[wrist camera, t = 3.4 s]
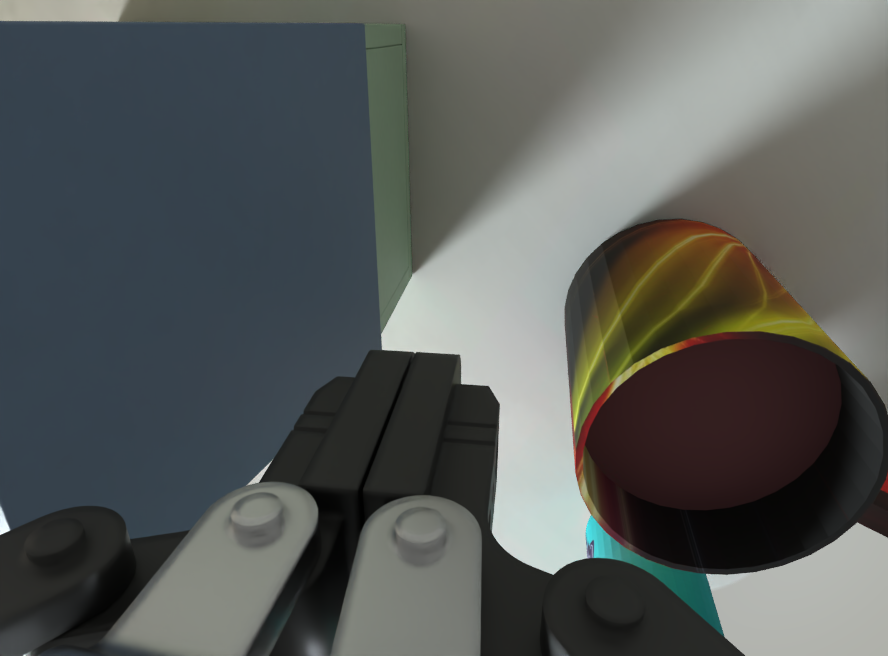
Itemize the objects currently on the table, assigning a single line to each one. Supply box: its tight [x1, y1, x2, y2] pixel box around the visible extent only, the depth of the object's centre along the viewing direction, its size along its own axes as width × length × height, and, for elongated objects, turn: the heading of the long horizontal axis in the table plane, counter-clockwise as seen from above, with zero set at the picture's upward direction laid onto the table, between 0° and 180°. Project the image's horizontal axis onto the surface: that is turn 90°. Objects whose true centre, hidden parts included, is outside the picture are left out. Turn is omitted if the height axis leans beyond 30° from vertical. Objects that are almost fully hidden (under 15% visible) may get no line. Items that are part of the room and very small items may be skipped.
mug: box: [565, 219, 888, 575], centre depth 26 cm, size 10×14×12 cm
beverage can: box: [586, 515, 724, 636], centre depth 30 cm, size 6×6×15 cm
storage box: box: [363, 23, 412, 333], centre depth 27 cm, size 14×12×8 cm
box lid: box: [0, 21, 382, 539], centre depth 16 cm, size 14×12×1 cm
